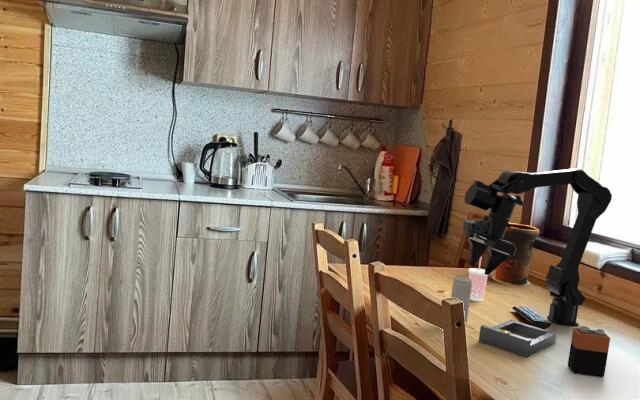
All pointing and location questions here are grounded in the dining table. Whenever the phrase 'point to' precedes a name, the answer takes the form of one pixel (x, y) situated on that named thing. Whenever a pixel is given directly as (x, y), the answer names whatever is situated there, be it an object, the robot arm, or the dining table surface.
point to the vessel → (517, 255)
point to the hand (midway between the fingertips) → (478, 270)
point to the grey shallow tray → (516, 337)
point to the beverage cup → (477, 283)
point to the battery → (588, 351)
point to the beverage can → (462, 292)
